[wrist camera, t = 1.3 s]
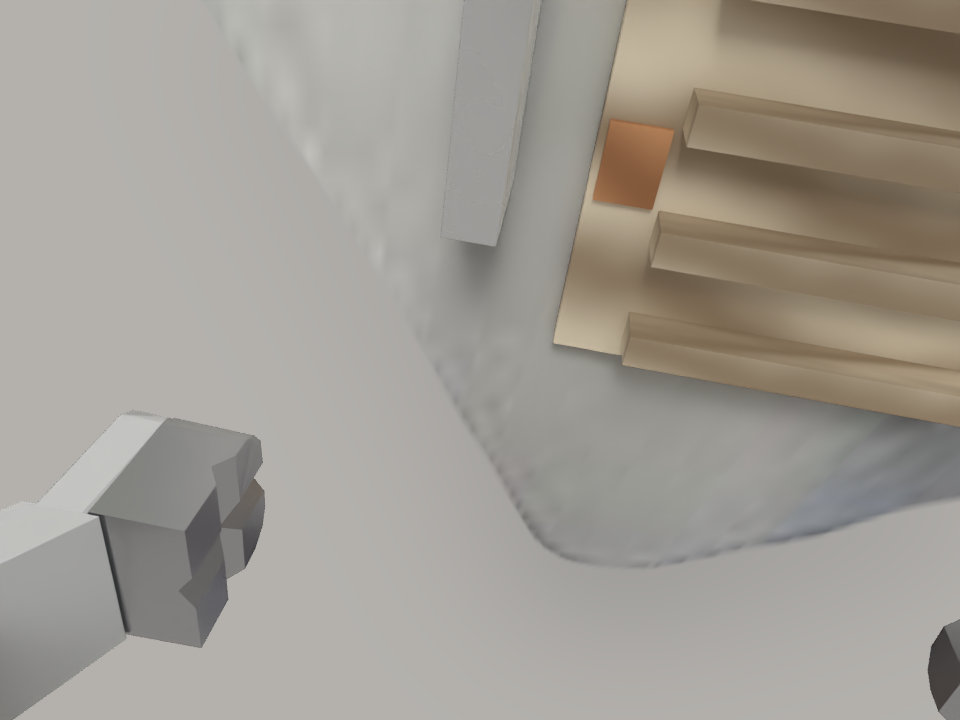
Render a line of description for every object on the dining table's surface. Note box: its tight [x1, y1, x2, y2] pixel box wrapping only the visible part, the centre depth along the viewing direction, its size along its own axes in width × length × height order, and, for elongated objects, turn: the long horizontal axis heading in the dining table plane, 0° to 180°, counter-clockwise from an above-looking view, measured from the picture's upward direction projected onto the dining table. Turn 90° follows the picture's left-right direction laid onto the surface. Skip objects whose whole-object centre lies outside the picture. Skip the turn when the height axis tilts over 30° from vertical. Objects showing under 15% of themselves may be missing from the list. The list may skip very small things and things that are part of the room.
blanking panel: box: [441, 0, 542, 247], centre depth 26 cm, size 12×2×6 cm, turn 173°
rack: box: [553, 0, 960, 427], centre depth 28 cm, size 18×22×3 cm
